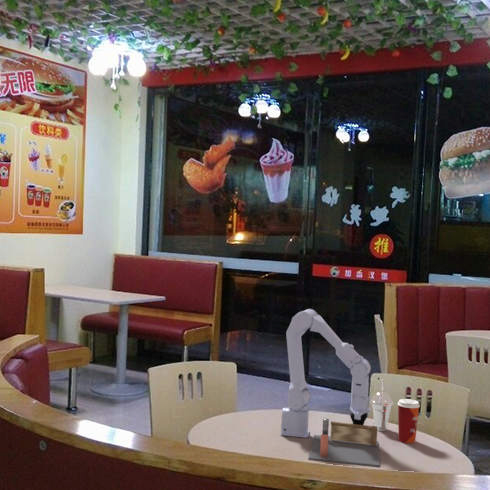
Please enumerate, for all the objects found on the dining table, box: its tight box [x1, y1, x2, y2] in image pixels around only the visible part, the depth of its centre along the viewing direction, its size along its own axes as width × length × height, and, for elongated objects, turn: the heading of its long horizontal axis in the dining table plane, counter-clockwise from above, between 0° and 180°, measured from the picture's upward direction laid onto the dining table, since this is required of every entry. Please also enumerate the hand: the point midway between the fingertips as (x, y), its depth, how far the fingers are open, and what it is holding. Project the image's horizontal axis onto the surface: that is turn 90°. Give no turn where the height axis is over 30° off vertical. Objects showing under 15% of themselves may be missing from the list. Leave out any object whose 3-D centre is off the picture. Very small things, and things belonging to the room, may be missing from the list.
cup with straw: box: [369, 377, 394, 432], centre depth 246 cm, size 8×9×20 cm
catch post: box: [320, 434, 330, 457], centre depth 214 cm, size 2×2×7 cm
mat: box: [308, 434, 380, 468], centre depth 221 cm, size 22×24×1 cm
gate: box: [330, 420, 378, 446], centre depth 227 cm, size 16×2×6 cm, turn 74°
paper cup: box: [397, 398, 421, 444], centre depth 234 cm, size 8×8×14 cm
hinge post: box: [321, 418, 330, 436], centre depth 230 cm, size 2×2×8 cm
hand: (357, 434), depth 229 cm, fingers closed
